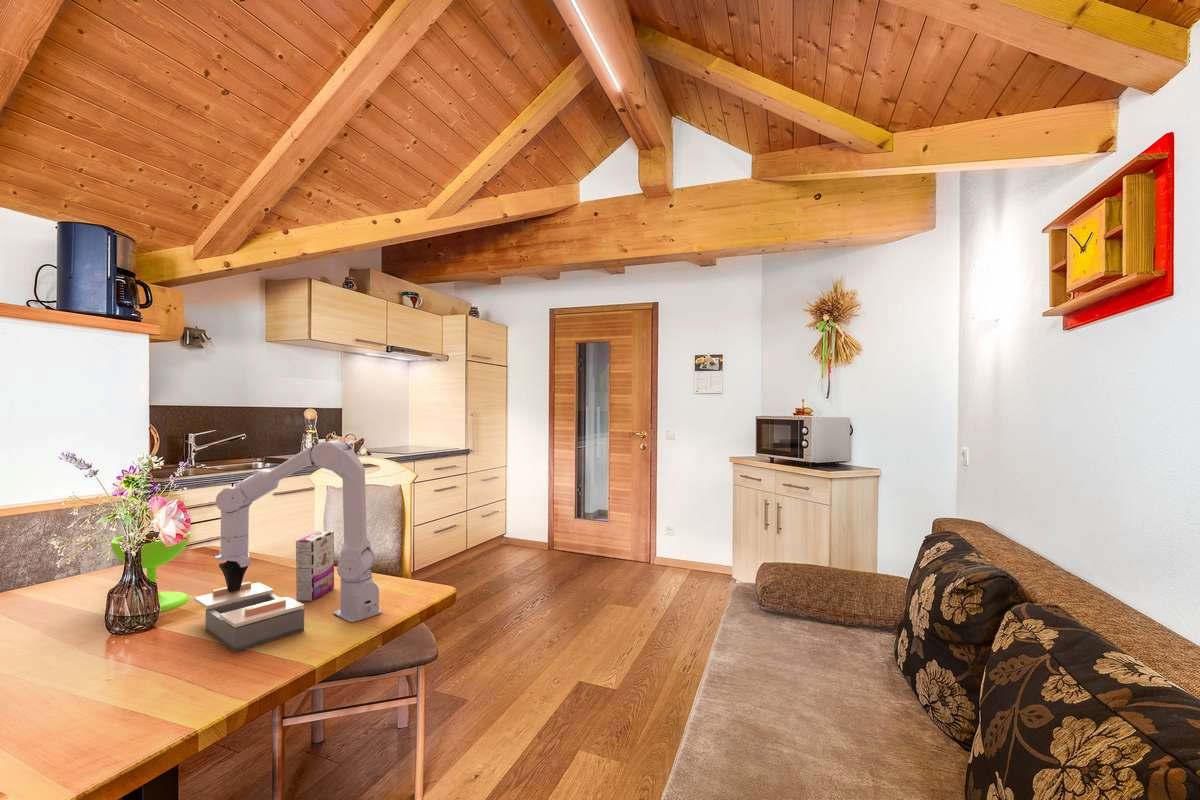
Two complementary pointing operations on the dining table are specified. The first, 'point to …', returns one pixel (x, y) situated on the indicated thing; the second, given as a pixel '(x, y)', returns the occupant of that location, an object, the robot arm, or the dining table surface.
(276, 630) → the box
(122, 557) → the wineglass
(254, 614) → the lid
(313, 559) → the candy bar box
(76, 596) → the dining table surface
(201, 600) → the lid
